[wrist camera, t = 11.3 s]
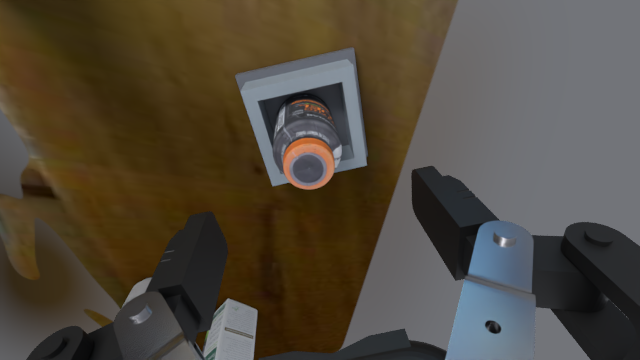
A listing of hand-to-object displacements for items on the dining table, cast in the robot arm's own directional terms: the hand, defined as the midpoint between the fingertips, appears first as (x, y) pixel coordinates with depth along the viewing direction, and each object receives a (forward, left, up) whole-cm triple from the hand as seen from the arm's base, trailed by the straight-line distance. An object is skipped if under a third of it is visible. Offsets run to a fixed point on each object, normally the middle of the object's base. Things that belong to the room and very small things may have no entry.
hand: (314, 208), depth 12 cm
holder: (0, -4, -23) cm, 23 cm away
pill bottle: (0, -4, -22) cm, 22 cm away
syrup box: (-19, -34, -23) cm, 45 cm away
